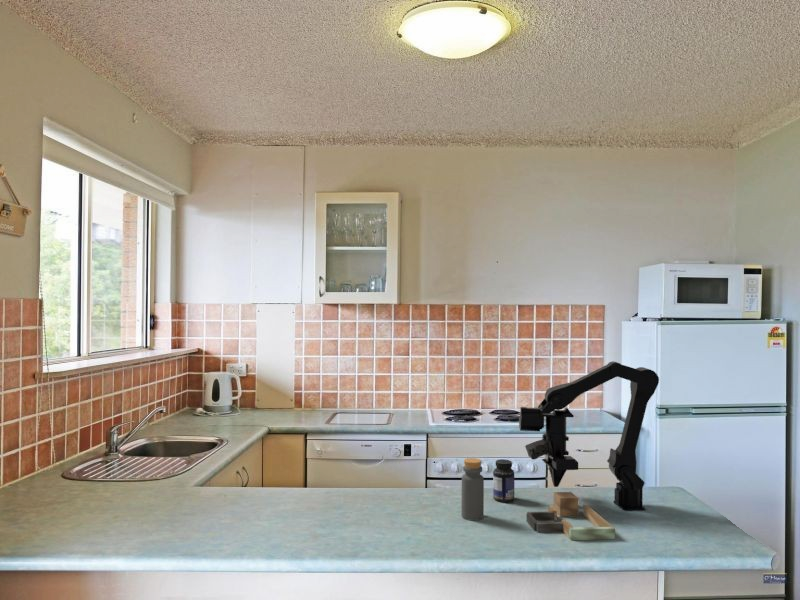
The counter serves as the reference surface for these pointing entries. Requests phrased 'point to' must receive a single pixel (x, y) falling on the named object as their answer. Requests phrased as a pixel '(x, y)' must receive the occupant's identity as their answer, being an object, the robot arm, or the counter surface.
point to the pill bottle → (503, 481)
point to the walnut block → (566, 504)
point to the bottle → (472, 490)
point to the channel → (547, 524)
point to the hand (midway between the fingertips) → (555, 486)
